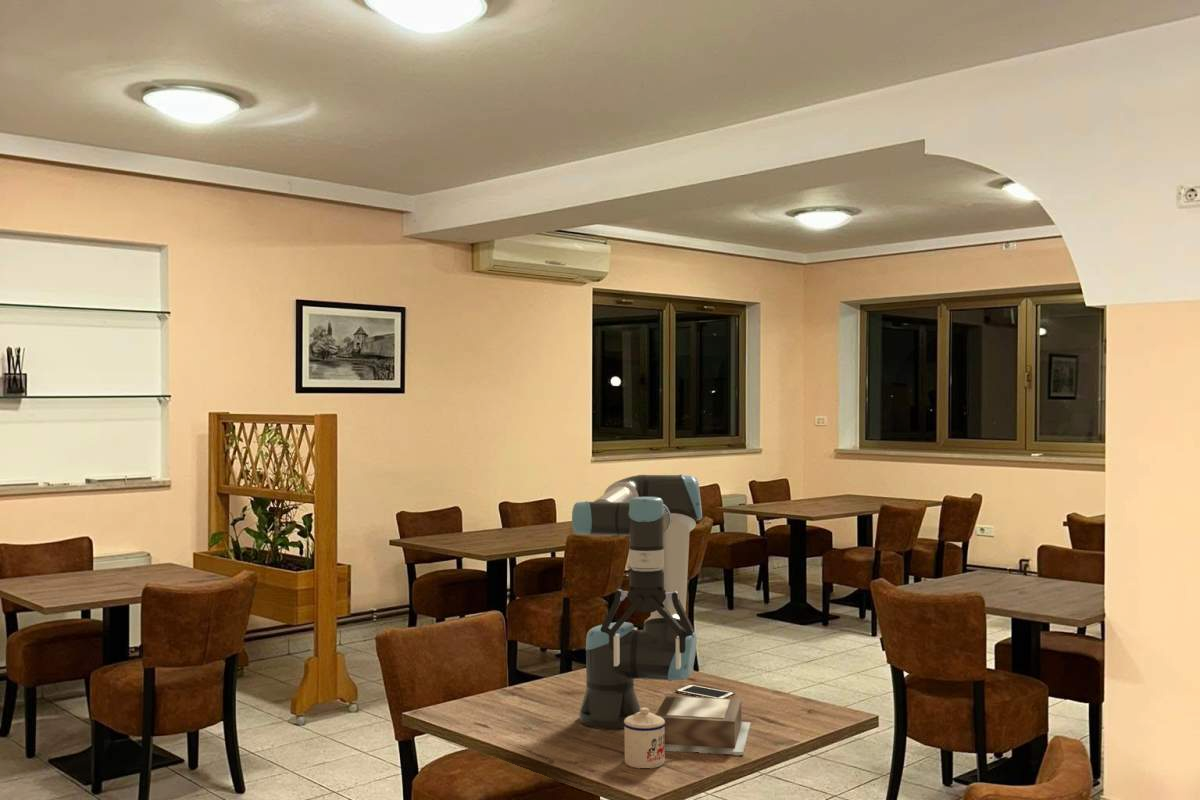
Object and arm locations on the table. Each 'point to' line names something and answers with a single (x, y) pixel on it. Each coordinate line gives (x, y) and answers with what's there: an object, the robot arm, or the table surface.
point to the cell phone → (704, 691)
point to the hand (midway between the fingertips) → (647, 666)
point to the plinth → (703, 725)
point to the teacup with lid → (644, 740)
